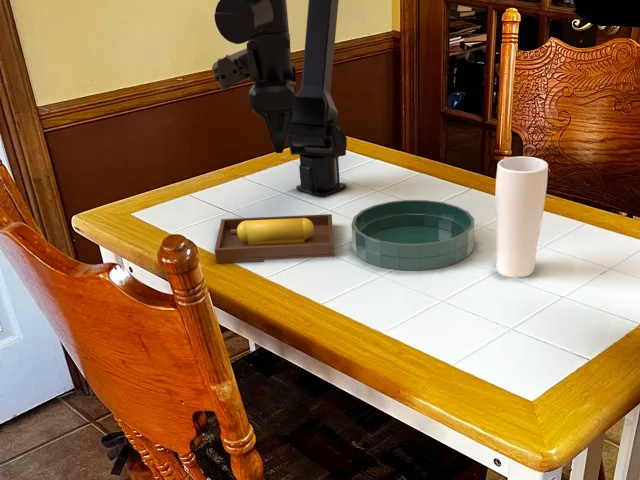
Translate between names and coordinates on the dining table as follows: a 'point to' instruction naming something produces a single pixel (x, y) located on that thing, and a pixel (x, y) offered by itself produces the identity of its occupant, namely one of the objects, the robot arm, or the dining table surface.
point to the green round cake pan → (413, 234)
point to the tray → (239, 251)
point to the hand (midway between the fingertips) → (279, 143)
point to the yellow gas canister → (274, 231)
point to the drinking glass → (519, 213)
